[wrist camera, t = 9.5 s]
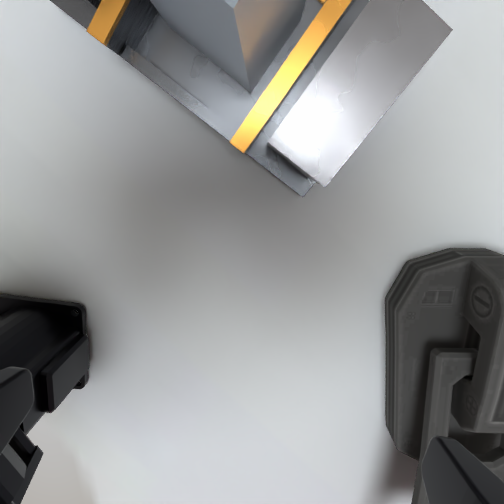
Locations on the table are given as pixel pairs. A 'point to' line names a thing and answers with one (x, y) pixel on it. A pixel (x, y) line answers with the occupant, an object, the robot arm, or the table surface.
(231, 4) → the pale blue square pillar
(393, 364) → the zipper pull
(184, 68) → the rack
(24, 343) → the robot arm
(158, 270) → the table surface
